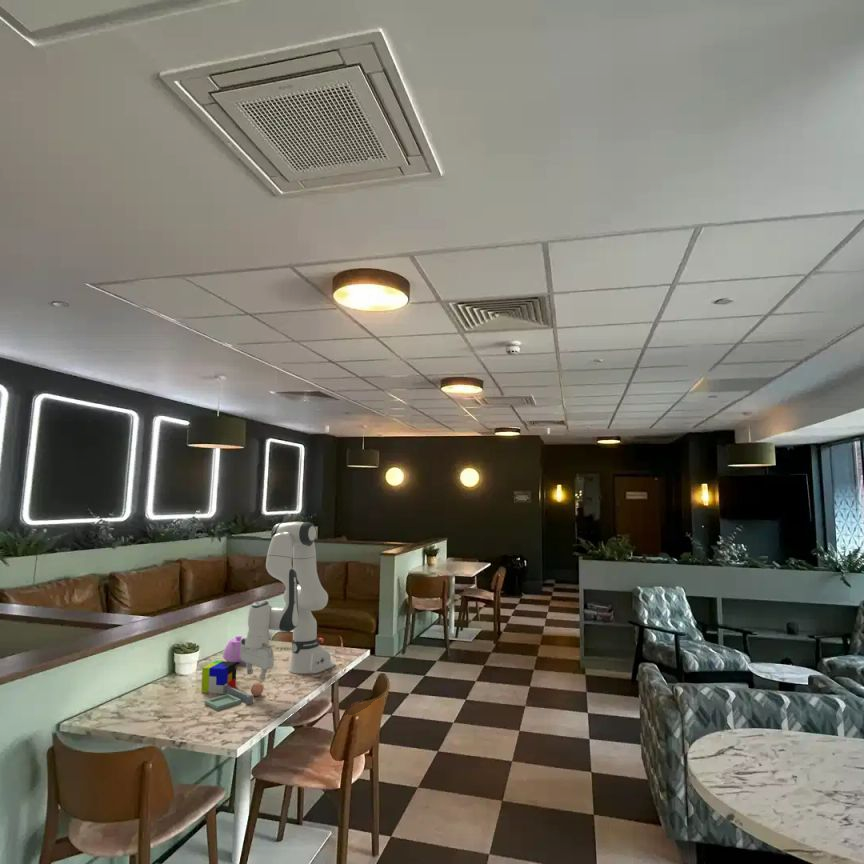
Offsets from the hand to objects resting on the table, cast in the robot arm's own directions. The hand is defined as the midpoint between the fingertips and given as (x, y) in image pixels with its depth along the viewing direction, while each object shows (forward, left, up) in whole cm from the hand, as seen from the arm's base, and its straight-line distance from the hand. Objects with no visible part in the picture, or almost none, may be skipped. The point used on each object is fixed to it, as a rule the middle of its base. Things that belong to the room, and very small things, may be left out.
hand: (256, 676), depth 233 cm
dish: (+13, -2, -8) cm, 15 cm away
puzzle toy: (+5, -20, -8) cm, 22 cm away
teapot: (-21, -50, -8) cm, 55 cm away
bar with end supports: (+6, -3, -8) cm, 10 cm away
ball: (-1, 0, -5) cm, 5 cm away
